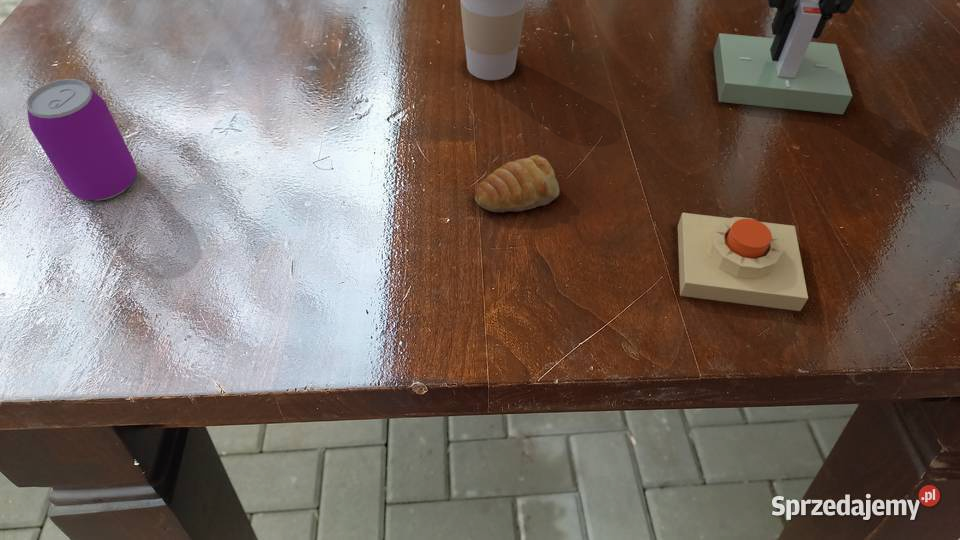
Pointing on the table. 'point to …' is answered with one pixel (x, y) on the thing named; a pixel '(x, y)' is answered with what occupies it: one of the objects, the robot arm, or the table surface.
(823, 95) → the panel
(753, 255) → the button
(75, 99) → the beverage can
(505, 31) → the coffee cup
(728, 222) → the button box
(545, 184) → the pastry
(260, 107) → the table surface
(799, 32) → the switch lever
